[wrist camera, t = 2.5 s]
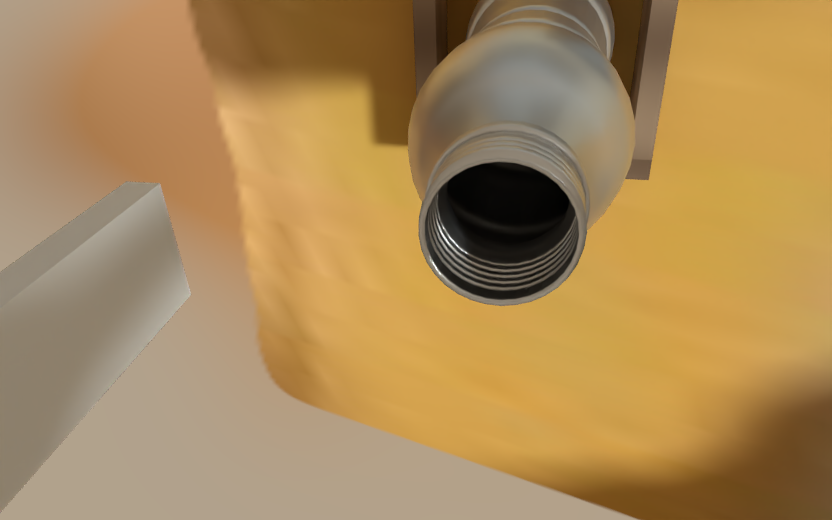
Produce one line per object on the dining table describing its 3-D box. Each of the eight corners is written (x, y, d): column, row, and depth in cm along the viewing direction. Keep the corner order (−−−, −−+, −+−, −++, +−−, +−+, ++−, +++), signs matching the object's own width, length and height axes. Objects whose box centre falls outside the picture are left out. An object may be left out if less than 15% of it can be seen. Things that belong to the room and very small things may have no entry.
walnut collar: (642, 155, 32) (648, 179, 29) (430, 147, 34) (419, 169, 32) (685, -119, 26) (697, -119, 23) (423, -108, 28) (408, -107, 25)
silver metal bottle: (637, -17, 28) (733, 146, 11) (574, 120, 32) (575, 394, 15) (502, -67, 28) (400, 24, 11) (454, 76, 32) (325, 300, 15)
